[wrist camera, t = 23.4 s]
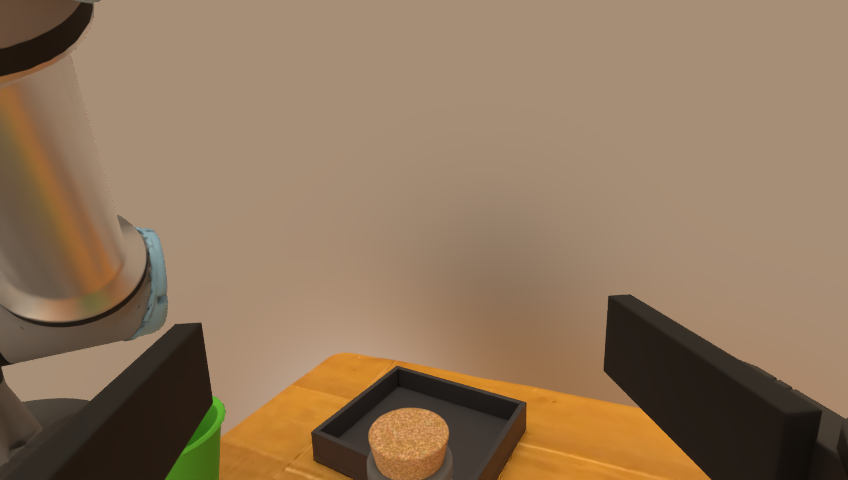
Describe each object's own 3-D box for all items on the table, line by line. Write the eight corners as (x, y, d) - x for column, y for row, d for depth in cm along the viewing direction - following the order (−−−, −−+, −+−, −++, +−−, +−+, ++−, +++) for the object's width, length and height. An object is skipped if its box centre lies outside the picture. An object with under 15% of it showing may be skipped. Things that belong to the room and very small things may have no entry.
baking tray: (313, 460, 45) (310, 431, 44) (397, 388, 58) (396, 365, 57) (466, 531, 36) (465, 497, 36) (526, 428, 49) (526, 402, 48)
